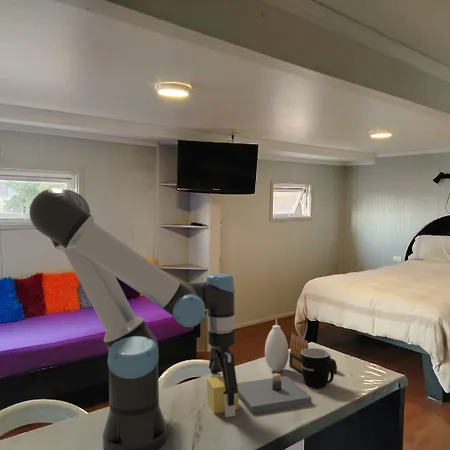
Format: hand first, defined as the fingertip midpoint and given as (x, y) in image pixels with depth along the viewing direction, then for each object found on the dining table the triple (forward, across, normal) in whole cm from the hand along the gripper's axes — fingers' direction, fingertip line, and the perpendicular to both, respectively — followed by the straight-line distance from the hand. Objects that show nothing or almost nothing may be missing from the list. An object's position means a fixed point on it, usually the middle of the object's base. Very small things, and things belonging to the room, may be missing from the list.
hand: (222, 405), depth 121 cm
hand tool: (+1, +19, -41) cm, 45 cm away
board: (0, +1, -15) cm, 15 cm away
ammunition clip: (0, +16, -32) cm, 36 cm away
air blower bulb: (0, +19, -25) cm, 31 cm away
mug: (0, +3, -32) cm, 32 cm away
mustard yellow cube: (0, 0, 0) cm, 0 cm away
